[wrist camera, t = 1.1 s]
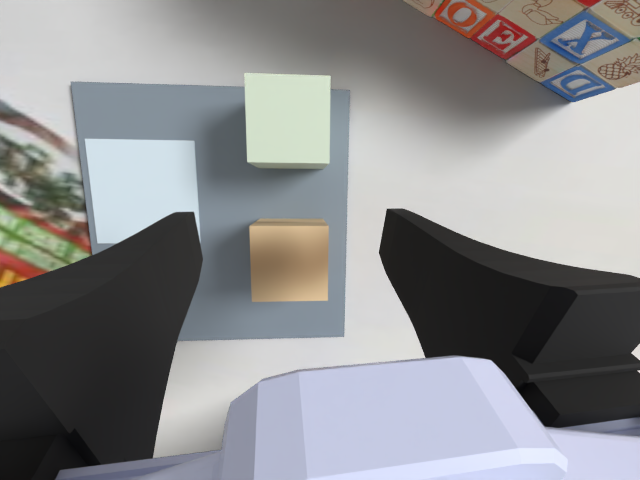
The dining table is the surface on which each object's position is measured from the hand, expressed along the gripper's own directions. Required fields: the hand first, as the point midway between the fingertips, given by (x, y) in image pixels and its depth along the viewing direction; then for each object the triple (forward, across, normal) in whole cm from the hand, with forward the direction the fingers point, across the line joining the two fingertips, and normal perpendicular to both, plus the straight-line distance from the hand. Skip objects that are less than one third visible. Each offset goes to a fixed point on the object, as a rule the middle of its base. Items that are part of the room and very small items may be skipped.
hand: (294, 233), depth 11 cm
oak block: (+8, 0, +6) cm, 10 cm away
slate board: (+10, +5, +4) cm, 12 cm away
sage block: (+11, 0, -1) cm, 11 cm away
